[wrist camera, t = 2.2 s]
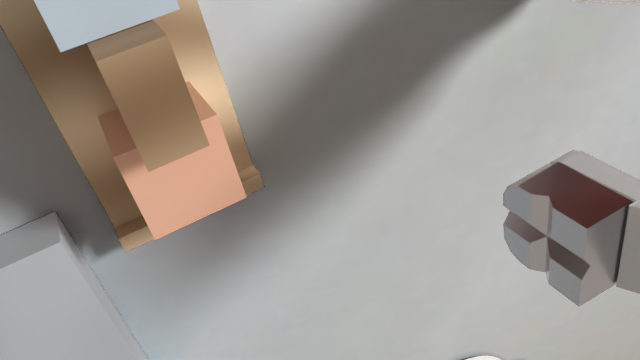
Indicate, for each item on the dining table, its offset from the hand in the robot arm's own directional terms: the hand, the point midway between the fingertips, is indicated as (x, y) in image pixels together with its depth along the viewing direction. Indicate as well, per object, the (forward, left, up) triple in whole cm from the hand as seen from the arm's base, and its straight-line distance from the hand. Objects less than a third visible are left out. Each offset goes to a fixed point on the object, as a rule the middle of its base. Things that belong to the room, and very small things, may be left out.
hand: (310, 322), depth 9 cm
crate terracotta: (-4, 0, -17) cm, 17 cm away
